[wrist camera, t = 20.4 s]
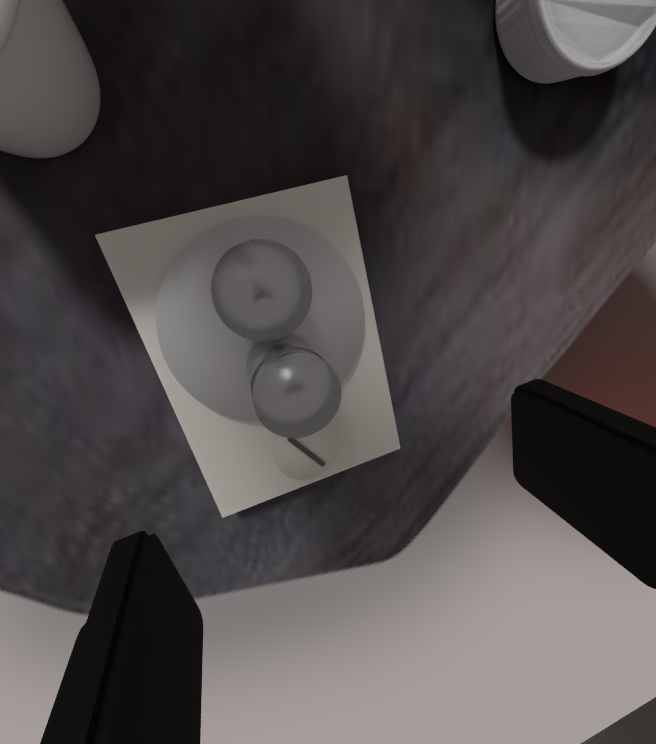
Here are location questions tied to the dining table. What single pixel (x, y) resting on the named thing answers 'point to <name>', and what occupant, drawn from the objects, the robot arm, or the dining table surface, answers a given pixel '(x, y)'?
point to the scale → (230, 351)
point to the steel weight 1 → (261, 290)
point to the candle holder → (44, 80)
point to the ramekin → (571, 35)
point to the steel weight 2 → (292, 386)
